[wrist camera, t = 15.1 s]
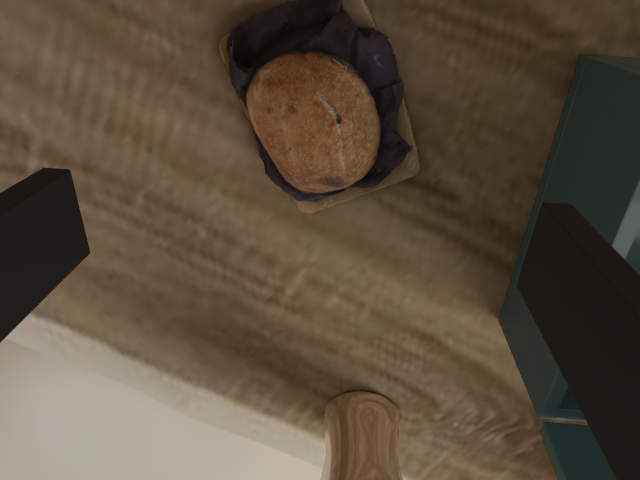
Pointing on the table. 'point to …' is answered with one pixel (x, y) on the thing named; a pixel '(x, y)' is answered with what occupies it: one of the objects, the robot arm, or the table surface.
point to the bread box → (583, 205)
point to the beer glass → (361, 438)
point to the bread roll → (322, 100)
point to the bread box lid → (575, 452)
